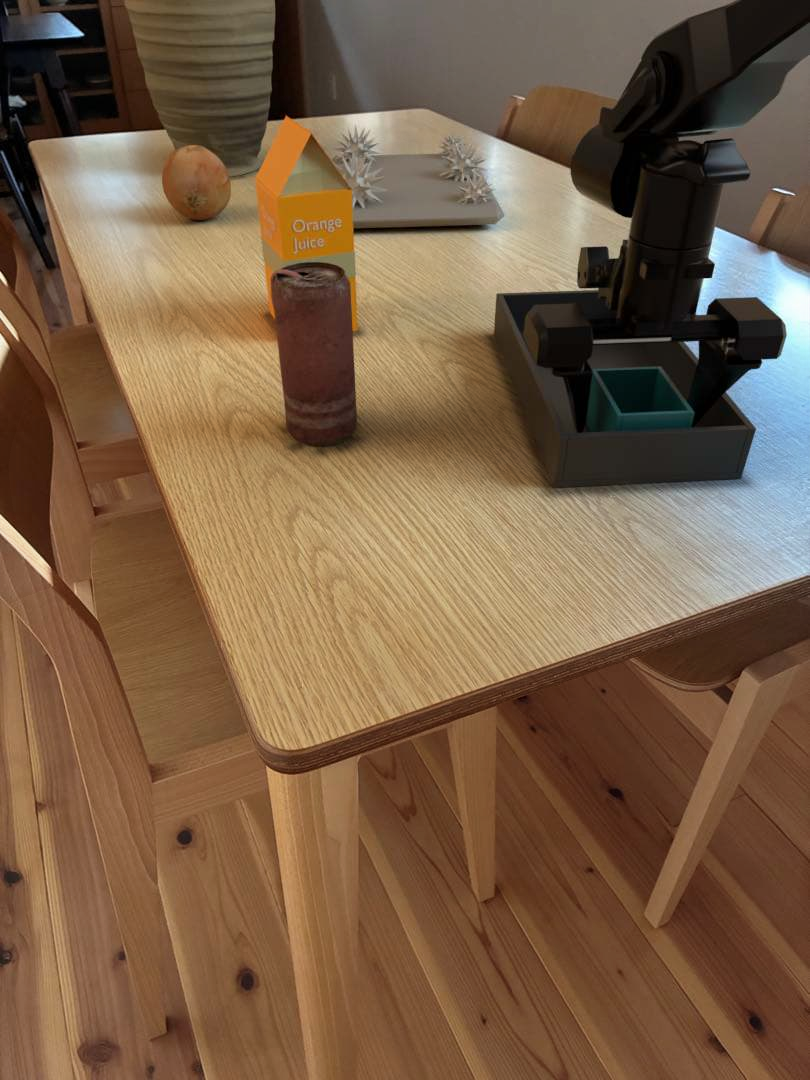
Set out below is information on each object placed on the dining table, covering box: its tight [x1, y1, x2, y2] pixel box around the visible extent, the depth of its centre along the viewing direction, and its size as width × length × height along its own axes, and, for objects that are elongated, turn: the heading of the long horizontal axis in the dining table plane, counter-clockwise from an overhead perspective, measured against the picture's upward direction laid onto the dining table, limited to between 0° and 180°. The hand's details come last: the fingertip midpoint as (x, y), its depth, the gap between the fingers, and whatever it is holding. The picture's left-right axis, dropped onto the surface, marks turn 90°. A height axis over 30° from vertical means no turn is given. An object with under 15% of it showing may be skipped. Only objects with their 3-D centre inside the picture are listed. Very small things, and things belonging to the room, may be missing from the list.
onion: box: [161, 145, 232, 221], centre depth 117 cm, size 10×10×10 cm
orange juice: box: [254, 114, 359, 333], centre depth 83 cm, size 8×9×20 cm
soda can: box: [270, 262, 358, 447], centre depth 66 cm, size 6×6×14 cm
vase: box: [123, 0, 276, 178], centre depth 134 cm, size 25×24×30 cm
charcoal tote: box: [493, 289, 757, 488], centre depth 74 cm, size 15×29×5 cm, turn 4°
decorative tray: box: [330, 123, 505, 229], centre depth 124 cm, size 35×26×10 cm
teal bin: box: [585, 366, 695, 432], centre depth 66 cm, size 6×8×5 cm
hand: (633, 428), depth 67 cm, fingers open, 9 cm apart
